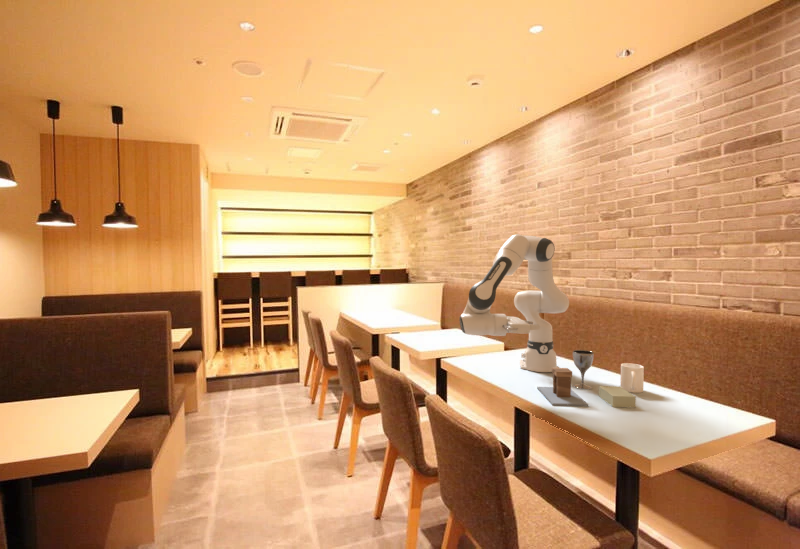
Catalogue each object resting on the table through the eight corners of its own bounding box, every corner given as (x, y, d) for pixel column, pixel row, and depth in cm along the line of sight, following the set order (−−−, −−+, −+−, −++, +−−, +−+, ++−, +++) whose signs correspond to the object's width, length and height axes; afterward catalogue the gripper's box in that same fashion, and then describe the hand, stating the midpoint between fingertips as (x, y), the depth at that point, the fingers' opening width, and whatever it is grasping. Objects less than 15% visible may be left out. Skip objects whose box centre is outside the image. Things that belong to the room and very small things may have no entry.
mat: (537, 388, 169) (537, 386, 169) (569, 389, 169) (569, 387, 169) (552, 405, 149) (552, 403, 149) (588, 406, 149) (588, 404, 149)
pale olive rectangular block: (598, 396, 160) (599, 386, 160) (619, 396, 160) (619, 386, 159) (612, 406, 148) (613, 396, 148) (635, 407, 148) (635, 396, 147)
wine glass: (569, 386, 172) (569, 351, 172) (576, 382, 178) (577, 348, 177) (588, 390, 167) (589, 354, 166) (595, 386, 172) (596, 351, 172)
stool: (559, 398, 162) (539, 379, 162) (579, 380, 161) (559, 360, 161) (563, 403, 156) (543, 383, 157) (584, 384, 156) (564, 363, 156)
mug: (645, 397, 159) (646, 371, 159) (621, 394, 162) (622, 368, 162) (642, 388, 170) (642, 364, 169) (619, 386, 173) (620, 362, 173)
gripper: (505, 320, 151) (543, 321, 150) (496, 313, 172) (529, 314, 171) (505, 337, 151) (543, 337, 150) (496, 328, 172) (529, 328, 171)
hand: (535, 325), depth 161 cm, fingers open, 8 cm apart
